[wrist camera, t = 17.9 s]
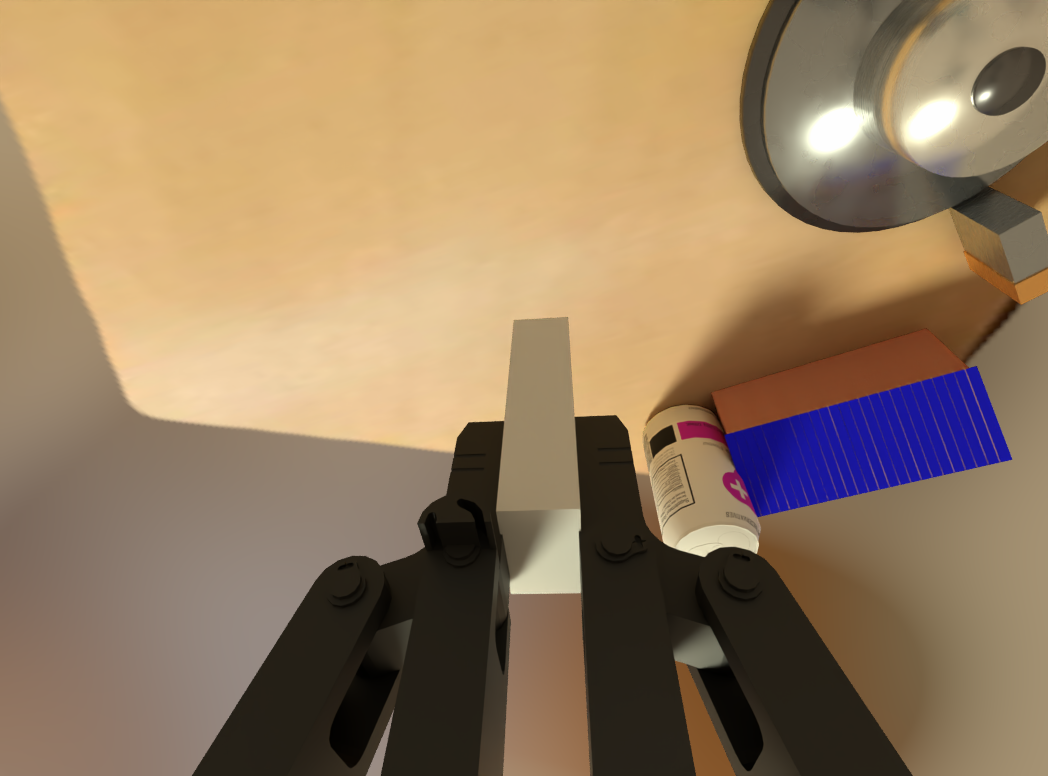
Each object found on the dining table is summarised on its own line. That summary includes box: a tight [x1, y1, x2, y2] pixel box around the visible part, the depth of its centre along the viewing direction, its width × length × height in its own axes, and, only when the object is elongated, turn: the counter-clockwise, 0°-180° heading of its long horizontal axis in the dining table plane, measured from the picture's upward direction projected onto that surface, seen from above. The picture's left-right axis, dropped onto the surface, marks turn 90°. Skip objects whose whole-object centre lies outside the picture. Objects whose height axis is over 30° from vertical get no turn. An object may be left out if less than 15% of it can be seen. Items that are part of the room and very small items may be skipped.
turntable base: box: [740, 0, 929, 233], centre depth 35 cm, size 22×22×1 cm
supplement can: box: [643, 405, 761, 557], centre depth 50 cm, size 8×8×15 cm
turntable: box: [760, 0, 1048, 305], centre depth 33 cm, size 27×20×6 cm
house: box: [711, 328, 1012, 517], centre depth 49 cm, size 12×20×12 cm, turn 114°
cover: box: [853, 0, 1048, 177], centre depth 30 cm, size 10×10×6 cm
